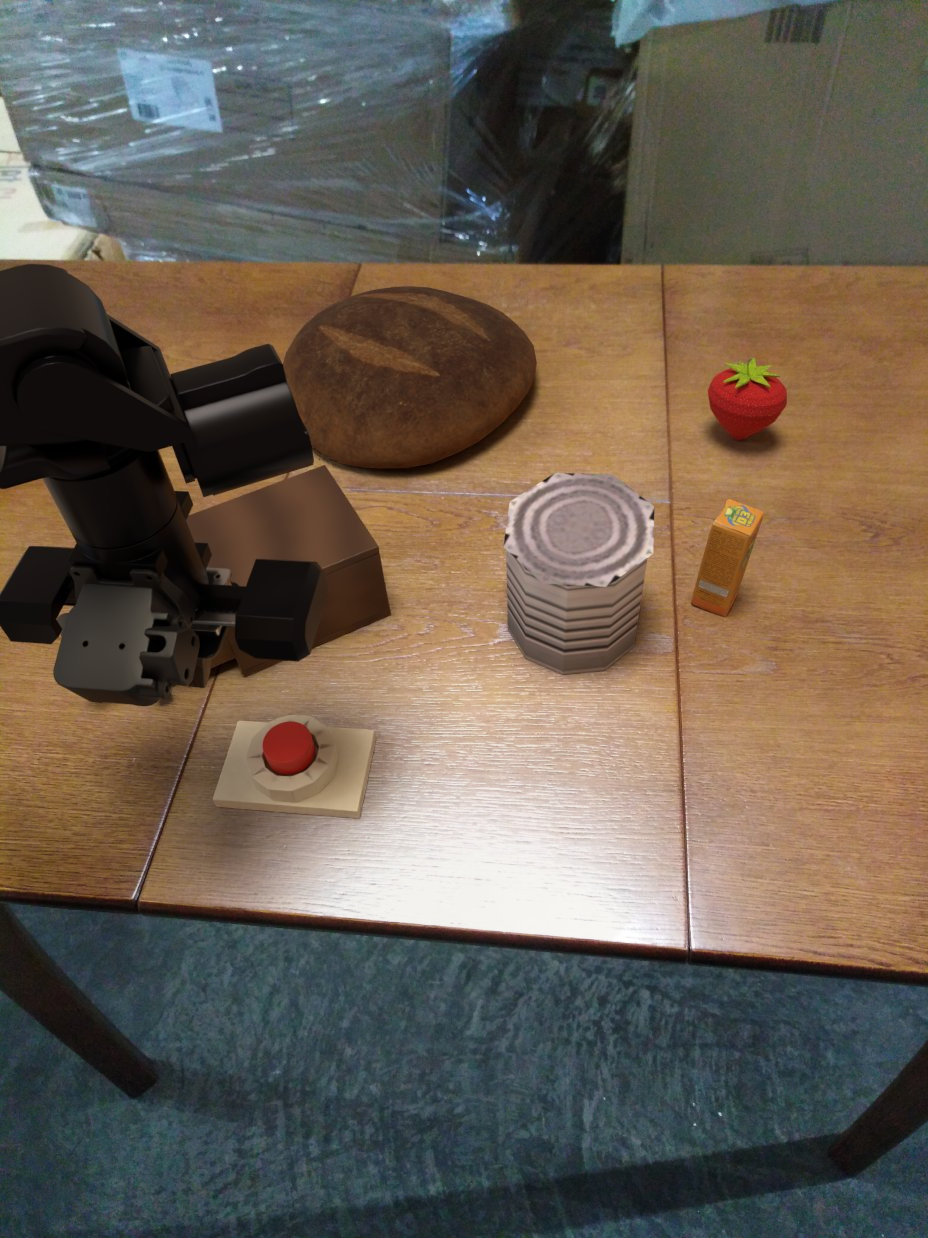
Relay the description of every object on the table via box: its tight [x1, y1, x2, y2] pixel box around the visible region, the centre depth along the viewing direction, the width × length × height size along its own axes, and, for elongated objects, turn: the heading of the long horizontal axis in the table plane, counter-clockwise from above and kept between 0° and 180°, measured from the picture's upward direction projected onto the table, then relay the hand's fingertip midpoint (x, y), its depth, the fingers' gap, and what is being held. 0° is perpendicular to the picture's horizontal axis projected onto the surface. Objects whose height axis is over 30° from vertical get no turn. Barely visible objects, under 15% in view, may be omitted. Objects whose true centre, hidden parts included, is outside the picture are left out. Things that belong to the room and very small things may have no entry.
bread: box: [282, 285, 538, 469], centre depth 95 cm, size 28×27×9 cm
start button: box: [262, 721, 315, 775], centre depth 66 cm, size 4×4×2 cm
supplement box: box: [690, 498, 765, 617], centre depth 73 cm, size 3×3×10 cm
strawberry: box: [707, 357, 788, 441], centre depth 87 cm, size 6×8×10 cm
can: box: [503, 472, 655, 676], centre depth 72 cm, size 11×11×12 cm
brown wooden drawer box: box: [186, 464, 392, 678], centre depth 77 cm, size 14×12×9 cm
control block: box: [212, 713, 377, 819], centre depth 67 cm, size 11×7×3 cm, turn 83°
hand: (201, 682), depth 60 cm, fingers closed
